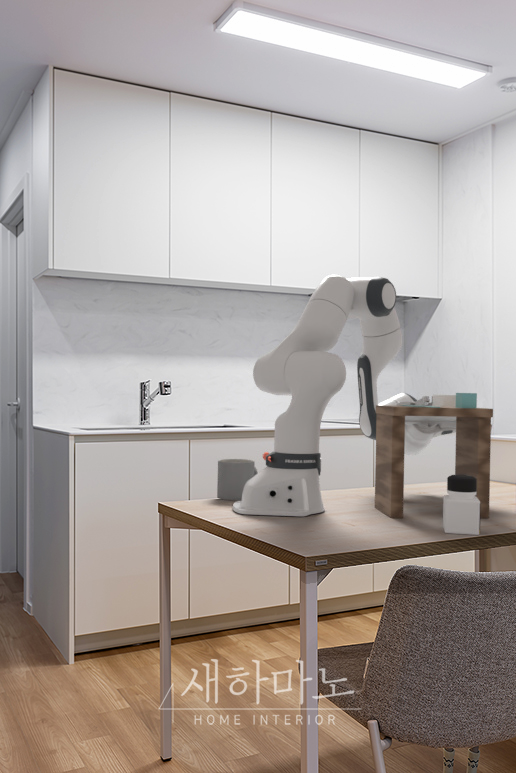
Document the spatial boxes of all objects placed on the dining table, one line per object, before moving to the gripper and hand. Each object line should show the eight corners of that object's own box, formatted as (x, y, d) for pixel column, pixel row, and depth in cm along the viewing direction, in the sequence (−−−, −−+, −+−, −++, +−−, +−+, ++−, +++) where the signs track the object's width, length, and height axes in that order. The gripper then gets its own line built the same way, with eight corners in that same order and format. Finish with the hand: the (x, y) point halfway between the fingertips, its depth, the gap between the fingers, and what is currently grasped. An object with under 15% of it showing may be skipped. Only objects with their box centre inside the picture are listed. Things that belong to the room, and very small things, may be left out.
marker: (476, 408, 166) (476, 393, 166) (462, 408, 166) (462, 392, 166) (441, 405, 189) (441, 392, 189) (428, 405, 189) (429, 392, 189)
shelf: (391, 518, 162) (394, 406, 162) (373, 506, 178) (375, 404, 178) (490, 518, 164) (493, 407, 164) (464, 507, 180) (466, 406, 180)
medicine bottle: (480, 535, 145) (481, 478, 145) (444, 533, 146) (445, 476, 146) (476, 528, 152) (477, 474, 152) (442, 527, 153) (443, 472, 153)
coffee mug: (231, 501, 181) (232, 463, 181) (209, 496, 189) (210, 459, 189) (271, 497, 190) (271, 460, 190) (248, 492, 198) (249, 457, 198)
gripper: (387, 411, 197) (400, 387, 186) (456, 413, 199) (474, 389, 188) (390, 431, 194) (403, 408, 182) (460, 432, 196) (478, 409, 184)
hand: (440, 398), depth 185 cm, fingers open, 6 cm apart
